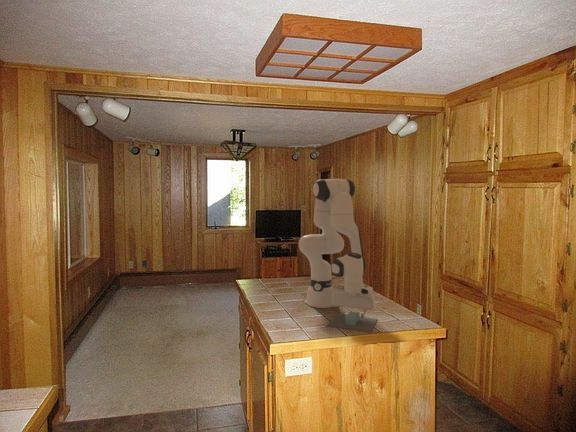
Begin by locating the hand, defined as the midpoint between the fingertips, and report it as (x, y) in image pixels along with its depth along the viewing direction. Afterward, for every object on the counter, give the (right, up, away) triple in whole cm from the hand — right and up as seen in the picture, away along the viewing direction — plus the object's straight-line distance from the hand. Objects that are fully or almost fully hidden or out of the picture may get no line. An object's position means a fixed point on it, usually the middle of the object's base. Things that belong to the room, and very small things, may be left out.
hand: (352, 316), depth 181 cm
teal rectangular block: (0, -3, 0) cm, 3 cm away
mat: (0, -3, 0) cm, 3 cm away
